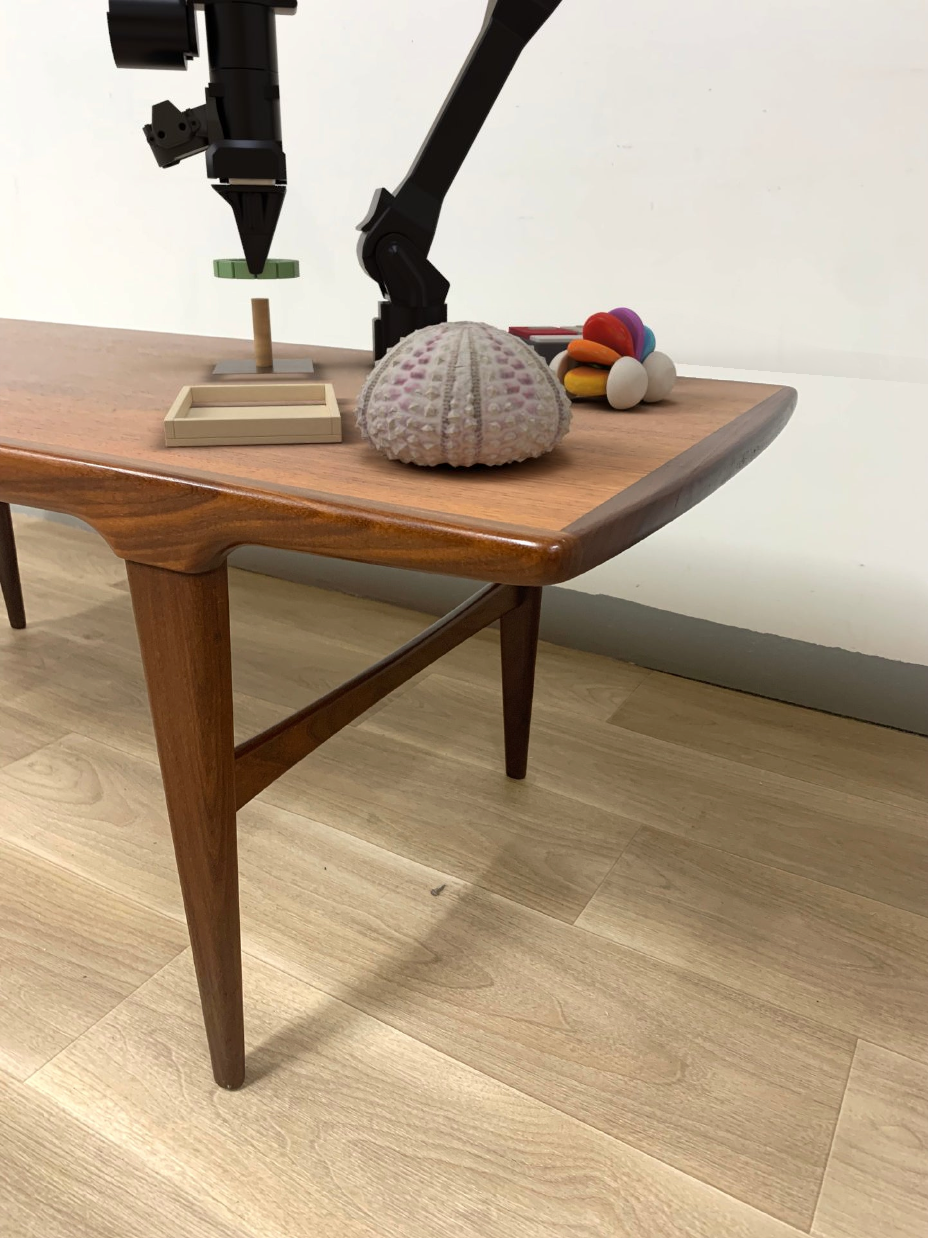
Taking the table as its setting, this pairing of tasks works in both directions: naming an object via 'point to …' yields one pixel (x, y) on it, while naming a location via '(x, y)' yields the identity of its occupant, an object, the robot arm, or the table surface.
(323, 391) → the tray
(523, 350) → the sea urchin shell
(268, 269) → the ring
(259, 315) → the peg stand
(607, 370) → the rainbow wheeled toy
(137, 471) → the table surface
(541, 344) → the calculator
